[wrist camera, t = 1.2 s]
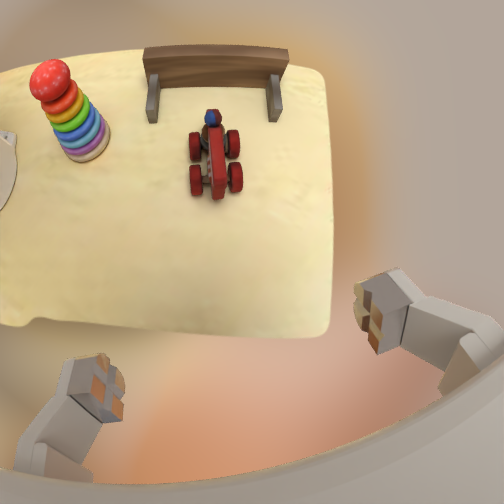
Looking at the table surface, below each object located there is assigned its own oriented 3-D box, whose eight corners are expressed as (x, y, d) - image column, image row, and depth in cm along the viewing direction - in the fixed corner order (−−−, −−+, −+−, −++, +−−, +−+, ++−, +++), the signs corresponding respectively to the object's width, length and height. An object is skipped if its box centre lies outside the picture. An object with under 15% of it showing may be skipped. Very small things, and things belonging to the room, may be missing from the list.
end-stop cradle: (280, 122, 44) (295, 95, 36) (145, 123, 40) (136, 95, 32) (275, 78, 44) (287, 49, 36) (150, 78, 41) (144, 47, 33)
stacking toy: (91, 171, 38) (34, 109, 20) (57, 152, 37) (-2, 92, 19) (120, 129, 39) (85, 50, 21) (86, 112, 39) (43, 39, 20)
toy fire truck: (234, 127, 42) (244, 88, 32) (241, 205, 41) (254, 181, 31) (188, 129, 41) (186, 90, 31) (191, 208, 40) (188, 185, 30)
